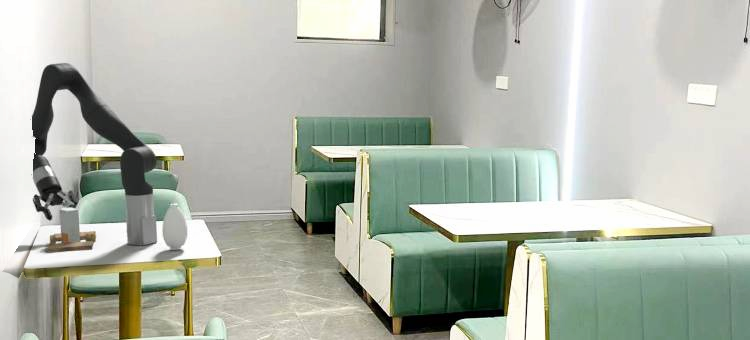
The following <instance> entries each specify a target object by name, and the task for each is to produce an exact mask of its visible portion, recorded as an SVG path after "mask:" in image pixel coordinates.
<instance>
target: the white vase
mask: <svg viewBox="0 0 750 340" xmlns="http://www.w3.org/2000/svg"><path fill="white" fill-rule="evenodd" d="M161 233H162V239H163V241H164V242H165V243H164V244H166V246H167V247H169V248H170V250H172V251H179V249H181V248H182V246H184V245H185V244H186V242H187V239H188V225H187V220H186V217H185V214H184V213H183V210H182V209H181V208H180V207H179V204H178V203H175V196H174V195H173V197H172V203H170V204H169V208H167V211H166V212H165V214H164V218H163V222H162V231H161Z"/></svg>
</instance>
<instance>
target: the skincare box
mask: <svg viewBox="0 0 750 340" xmlns="http://www.w3.org/2000/svg"><path fill="white" fill-rule="evenodd" d="M79 213H80V212H79V209H77V208H76V207H75V208H67V207H65V208H64V207H63V208H59V223H60V233H61V241H60V242H61V243H70V242H81V239H80V215H79Z"/></svg>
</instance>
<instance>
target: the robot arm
mask: <svg viewBox="0 0 750 340" xmlns="http://www.w3.org/2000/svg"><path fill="white" fill-rule="evenodd" d="M63 90H64V91H65V90H67V91H69V92H70V93H71V94H72V95H74V97H75V98H76V99H77V100H78V102H79V106H80V113H81V116H82V118H83V120H84V122H86V124H87V125H88V126H89V127H90V128H91V129H92V130H93V131H94V132H95V133H96V134H97V135H98V136H100V137H102V138H104V140H107V141H109V142H110V143H113V144H114V145H116V146H117V147H118V148H120V149H121V150H122V151H123V152H122V153H121V156H120V160H119V164H120V166H119V167H120V176H121V185H122V187H123V189H124V195H125V196H124V197H125V200H124V202H125V217H126V218H125V221H126V223H125V224H126V237H127V238H126V239H127V244H128V245H132V246H146V245H150V244H154V243H157V242H158V234H157V233H158V231H157V229H158V228H157V216H156V215H155V211H154V209H155V207H154V187H153V185H152V184H151V183H149V182H147V181H146V176H145V174H147V173H150V172H152V171H153V170H154V169H155V168H156V167H157V160H158V159H157V155H156V154H155V152H154V151H153V150H152V148H150V146H148V145H147V144H146V143H145V142H144V141H143V140H141V139H140V138H139V137H138V136H137V135H135V134H134V133H133V132H132V130H130V128H129V127H128V126H127V125H126V123H125V122H123V121H122V120H121V119H120V118H119V116H118V115H117V114H116V113H115V111H113V110H112V109H111V107H110V106H109V105H107V104H106V102H105V101H103V99H102V98H101V97H100V95H98V94H97V93H96V91H95V90H94V89H93V88H92V86H90V85H89V83H88V81H87V80H86V79H85V77H83V74H82V73H81V72H80V71H79V70H78V69H77V68H76V67H75V66H74V65H73V64H71V63H68V62H61V63H52V64H48V65H46V66H45V67H44V68H43V71H42V73H41V77H40V82H39V87H38V91H37V97H36V102H35V105H34V106H35V107H34V109H33V112H32V115H31V117H32V130H33V136H32V138H36V139H35V153H36V154H35V153H34V159H33V177H32V180H33V183H34V185H35V187H36V189H37V192H38V194H39V195H38V194H34V195H33V197H32V202H33V203H32V204H33V205H34V208H35V210H36V212H37V213H40V212H42V213H43V215H44V216H45V218H46V220H48V221H49V222H50V221H52V220H53V214H52V213H51V210H50V208H49V206H51V207H53V206H54V207H55V206H62V207H63V208H64V207H65V208H75V209H76V207H77V206H78V203H79V200H78V198H77V196H76V195H75V193H74V191H73V190H71V189H70V190H69V191H68V192H65V191H64V190H63V187H62V185H61V184H60V181H59V179H58V177H57V174H56V173H55V171H54V170H53V168H52V166H51V164H50V162H49V160H48V158H47V157H46V156H45V155H44V154H45V153H46V151H47V146H48V145H47V144H48V142H47V141H48V135H49V134H48V133H49V131H50V129H51V127H52V124H53V122H54V109H53V101H54V97H55V95H56V94H57V92H58V91H63ZM41 201H42V202H44V203H45V204H44V206H42V203H41Z"/></svg>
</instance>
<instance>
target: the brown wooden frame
mask: <svg viewBox="0 0 750 340" xmlns="http://www.w3.org/2000/svg"><path fill="white" fill-rule="evenodd" d="M96 239H97V233H96V231H95V230H93V231H91V230H90V231H81V232H80V240H85V241H80V242H70V243H63V242H62V241H61V232H60V233H54V234H50V235H49V243H48V245H47V247H46V253H53V252H54V253H55V252H66V251H67V252H68V251H78V250H80V251H81V250H92V249H93V246H94V242H96ZM57 242H58V243H57ZM59 242H60V243H59Z"/></svg>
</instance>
